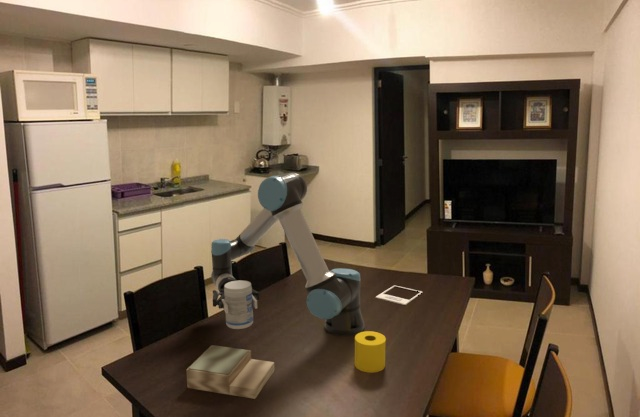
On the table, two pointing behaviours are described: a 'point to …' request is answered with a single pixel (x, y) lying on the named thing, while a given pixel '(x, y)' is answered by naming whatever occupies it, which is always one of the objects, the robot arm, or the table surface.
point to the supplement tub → (238, 304)
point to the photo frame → (396, 299)
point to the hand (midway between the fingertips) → (241, 307)
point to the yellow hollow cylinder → (370, 351)
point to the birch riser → (229, 372)
